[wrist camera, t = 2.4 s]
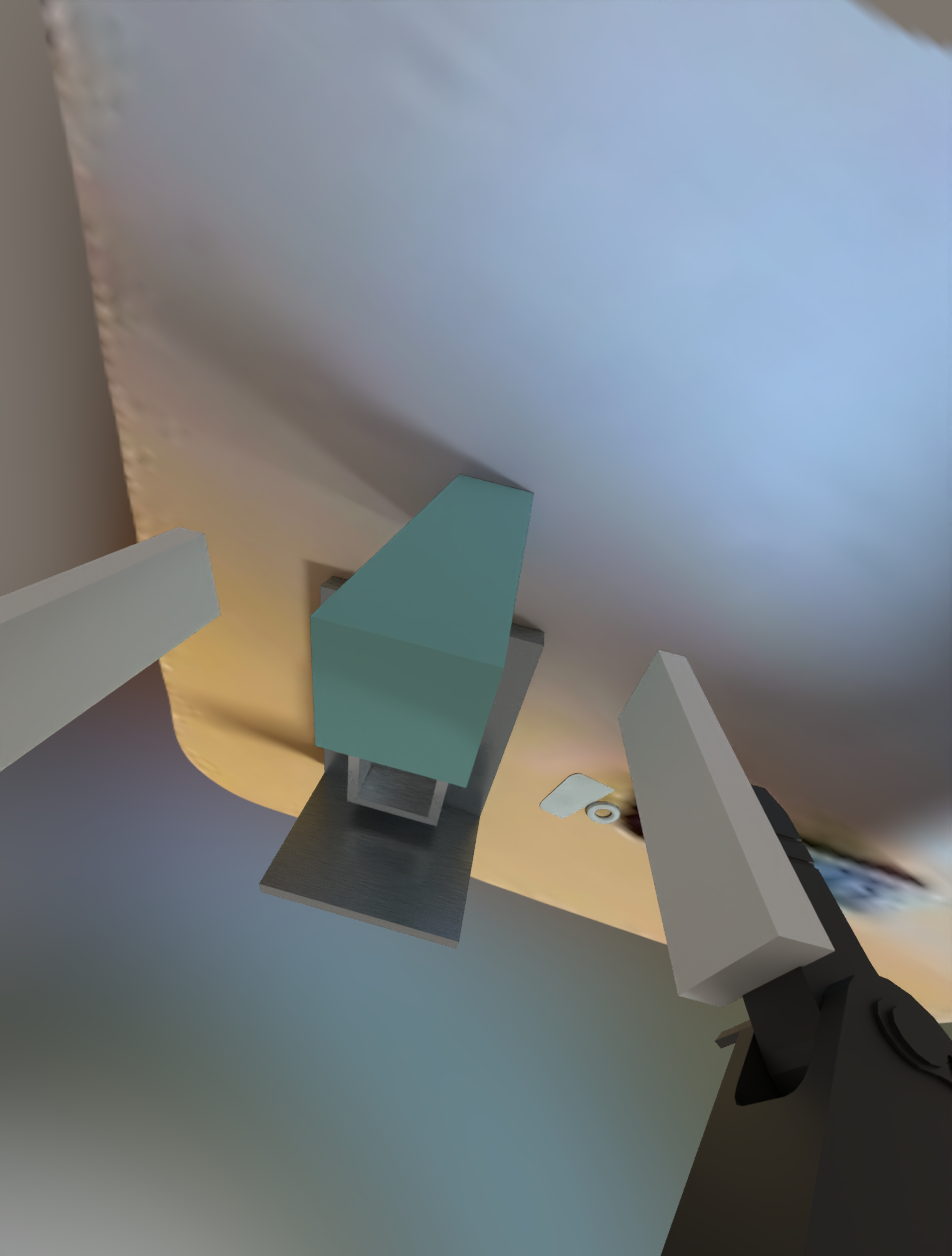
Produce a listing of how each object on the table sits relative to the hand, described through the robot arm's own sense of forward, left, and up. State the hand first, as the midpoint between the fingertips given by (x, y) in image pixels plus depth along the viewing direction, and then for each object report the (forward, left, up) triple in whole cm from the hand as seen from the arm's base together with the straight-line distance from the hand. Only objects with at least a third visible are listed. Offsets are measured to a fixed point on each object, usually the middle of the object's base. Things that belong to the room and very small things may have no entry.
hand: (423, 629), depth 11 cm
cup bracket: (+2, +16, -12) cm, 20 cm away
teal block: (0, 0, -12) cm, 12 cm away
